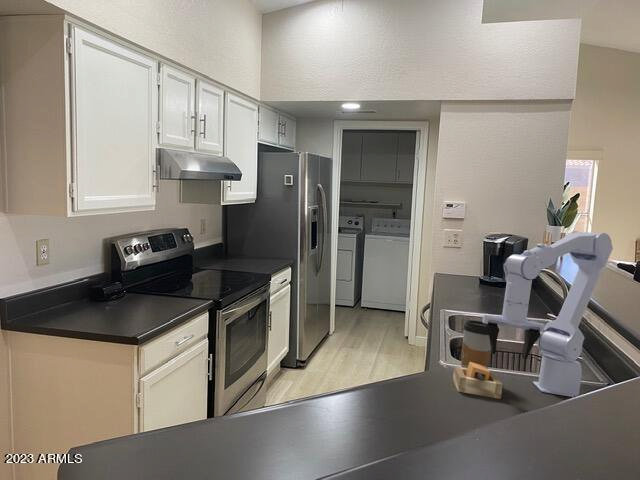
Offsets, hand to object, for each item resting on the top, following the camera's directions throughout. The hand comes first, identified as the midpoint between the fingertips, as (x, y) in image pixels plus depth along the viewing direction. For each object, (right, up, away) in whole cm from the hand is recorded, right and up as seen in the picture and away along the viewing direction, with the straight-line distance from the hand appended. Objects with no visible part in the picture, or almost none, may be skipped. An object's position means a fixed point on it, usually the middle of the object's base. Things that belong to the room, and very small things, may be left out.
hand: (508, 355), depth 119 cm
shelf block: (-8, -8, 0) cm, 12 cm away
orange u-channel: (-8, -8, 0) cm, 11 cm away
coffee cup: (-6, -9, +10) cm, 15 cm away
